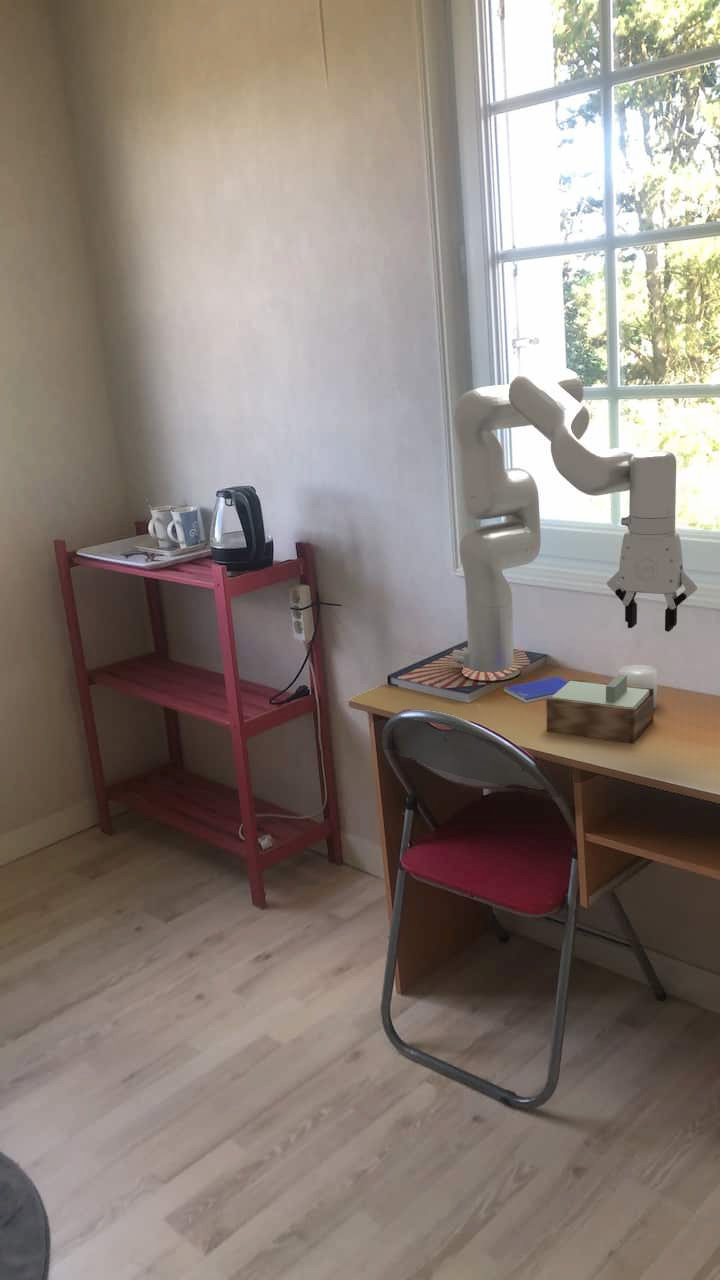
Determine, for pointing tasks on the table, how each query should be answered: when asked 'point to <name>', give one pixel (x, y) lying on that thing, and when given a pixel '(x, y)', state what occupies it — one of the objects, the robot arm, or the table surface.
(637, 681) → the white round canister
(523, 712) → the table surface
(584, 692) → the lid
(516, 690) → the blue book
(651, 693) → the walnut box
